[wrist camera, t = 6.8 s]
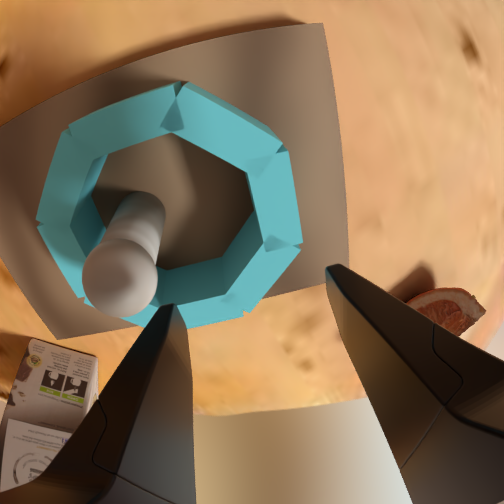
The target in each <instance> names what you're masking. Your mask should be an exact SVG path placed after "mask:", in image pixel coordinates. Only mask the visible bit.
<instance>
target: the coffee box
mask: <svg viewBox="0 0 504 504" xmlns="http://www.w3.org/2000/svg"><path fill="white" fill-rule="evenodd" d="M96 399H98V359H97V358H96V357H94V356H90V355H87V354H83V353H79V352H76V351H72V350H69V349H65V348H62V347H59V346H56V345H52V344H49V343H46V342H43V341H40V340H37V339H34V338H33V339H31V340H30V342H29V344H28V347H27V349H26V352H25V354H24V357H23V359H22V362H21V364H20V367H19V370H18V372H17V375H16V378H15V380H14V383H13V386H12V389H11V392H10V395H9V398H8V401H7V405H6V408H5V411H4V414H3V418H2V421H1V424H0V492H3V491H6V490H9V489H11V488H14V487H17V486H20V485H23V484H25V483H28V482H30V481H32V480H34V479H35V478H36V477H38V476H39V475H40V474H41V473H42V472H43V471H44V470H45V469H46V468H47V466H48V465H49V464H50V463H51V461H52V460H53V459H54V457H55V456H56V455H57V453H58V452H59V451H60V450H61V448H62V447H63V446H64V444H65V443H66V442H67V440H68V439H69V438H70V437H71V435H72V434H73V432H74V431H75V430H76V428H77V427H78V426H79V424H80V423H81V422H82V420H83V419H84V417H85V416H86V414H87V413H88V411H89V410H90V408H91V407H92V405H93V404H94V402H95V401H96Z"/></svg>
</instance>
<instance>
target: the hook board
mask: <svg viewBox="0 0 504 504" xmlns="http://www.w3.org/2000/svg"><path fill="white" fill-rule="evenodd" d="M178 81H180V82H181V85H182V87H183V86H184V85H185V84H186V83H188V82H191V83H192V84H194V85H196V86H198V87H200V88H202V89H204V90H206V91H208V92H209V93H211V94H213V95H215V96H217V97H218V98H220V99H222V100H224V101H226V102H227V103H229V104H231V105H233V106H234V107H236V108H238V109H240V110H241V111H243V112H245V113H246V114H248V115H250V116H251V117H253V118H255V119H256V120H258V121H260V122H261V123H263V124H265V125H266V126H268V127H269V128H270V129H271V130H272V131H273V132H274V134H275V135H276V136H277V137H278V138H279V139H280V140H281V141H282V143H283V145H284V147H285V148H286V149H287V150H288V152H289V158H290V163H291V169H292V175H293V181H294V187H295V193H296V199H297V205H298V212H299V218H300V225H301V231H302V238H303V243H300V244H298V245H299V247H300V249H301V251H300V252H299V253H298V254H297V256H296V257H295V258H294V259H293V261H292V262H291V263H290V264H289V266H288V267H287V268H286V269H285V271H284V272H283V273H282V274H281V276H280V277H279V278H278V279H277V280H276V282H275V283H274V284H273V285H272V287H271V288H270V289H269V290H268V291H267V293H266V294H265V295H264V296H263V297H262V299H264V298H268V297H272V296H276V295H280V294H284V293H288V292H292V291H296V290H300V289H304V288H308V287H312V286H316V285H320V284H323V283H326V278H325V268H326V267H327V266H329V265H333V264H337V263H340V264H342V265H344V266H345V267H347V268H349V245H348V222H347V205H346V190H345V177H344V165H343V155H342V145H341V136H340V127H339V119H338V111H337V104H336V96H335V89H334V83H333V76H332V70H331V64H330V58H329V53H328V47H327V42H326V36H325V31H324V26H323V23H312V24H300V25H291V26H282V27H275V28H268V29H261V30H255V31H249V32H243V33H238V34H233V35H228V36H223V37H218V38H214V39H210V40H205V41H201V42H197V43H193V44H189V45H186V46H182V47H179V48H175V49H172V50H168V51H165V52H162V53H158V54H155V55H152V56H149V57H146V58H143V59H140V60H137V61H135V62H132V63H129V64H126V65H124V66H121V67H118V68H116V69H113V70H111V71H108V72H106V73H103V74H101V75H98V76H96V77H94V78H91V79H89V80H87V81H85V82H82V83H80V84H78V85H76V86H74V87H72V88H69V89H67V90H65V91H63V92H61V93H59V94H57V95H55V96H53V97H51V98H49V99H47V100H46V101H44V102H42V103H40V104H38V105H36V106H35V107H33V108H31V109H29V110H27V111H26V112H24V113H22V114H21V115H19V116H17V117H15V118H14V119H12V120H11V121H9V122H7V123H6V124H4V125H3V126H1V127H0V257H1V259H2V261H3V262H4V264H5V266H6V267H7V269H8V270H9V272H10V274H11V275H12V277H13V278H14V280H15V282H16V283H17V285H18V286H19V288H20V289H21V291H22V292H23V294H24V295H25V297H26V298H27V300H28V301H29V303H30V304H31V305H32V307H33V308H34V310H35V311H36V312H37V314H38V315H39V317H40V318H41V319H42V321H43V322H44V323H45V325H46V326H47V327H48V329H49V330H50V331H51V333H52V334H53V335H54V336H55V338H56V339H57V340H60V339H66V338H72V337H78V336H84V335H90V334H96V333H101V332H107V331H112V330H118V329H123V328H129V327H134V326H139V325H136V324H134V323H131V322H129V321H126V320H123V319H121V318H123V317H129V316H132V315H135V314H137V313H139V312H141V311H142V310H143V309H144V308H146V306H147V305H148V304H149V303H150V302H151V300H152V298H153V296H154V294H155V292H156V288H157V282H158V275H157V269H156V266H158V267H160V268H162V269H164V270H171V269H175V268H179V267H183V266H187V265H191V264H195V263H199V262H203V261H207V260H211V259H215V258H219V257H222V256H223V254H224V253H225V252H226V250H227V249H228V247H229V246H230V244H231V243H232V241H233V240H234V238H235V237H236V236H237V234H238V233H239V231H240V230H241V228H242V227H243V225H244V224H245V222H246V221H247V220H248V218H249V217H250V215H251V214H252V212H253V211H254V208H253V204H252V200H251V196H250V191H249V187H248V183H247V179H246V175H245V171H243V170H241V169H240V168H238V167H236V166H234V165H232V164H231V163H229V162H227V161H225V160H223V159H221V158H219V157H218V156H216V155H214V154H212V153H210V152H208V151H206V150H205V149H203V148H201V147H199V146H197V145H195V144H193V143H191V142H189V141H187V140H185V139H184V138H182V137H180V136H178V135H176V134H174V133H172V132H171V133H168V134H165V135H162V136H158V137H155V138H152V139H149V140H146V141H143V142H140V143H137V144H134V145H131V146H129V147H126V148H123V149H120V150H117V151H115V152H112V153H109V154H108V156H107V158H106V160H105V163H104V165H103V167H102V170H101V172H100V174H99V177H98V179H97V182H96V184H95V187H94V190H93V192H92V195H91V197H92V199H93V202H94V204H95V206H96V208H97V211H98V213H99V215H100V217H101V219H102V222H103V224H104V226H105V228H106V232H105V234H104V236H103V238H102V240H101V242H100V244H99V245H98V246H96V247H95V248H94V249H93V250H92V251H91V252H90V254H89V255H88V257H87V258H86V260H85V263H84V265H83V269H82V285H83V289H84V292H85V295H86V296H85V297H87V298H88V300H89V301H90V303H91V304H92V305H93V306H94V307H95V308H94V307H92V306H90V305H87V304H85V303H84V300H85V297H81V298H78V297H77V296H76V294H75V293H74V291H73V290H72V288H71V286H70V285H69V283H68V282H67V280H66V278H65V277H64V275H63V273H62V272H61V270H60V268H59V267H58V265H57V263H56V261H55V260H54V258H53V256H52V254H51V253H50V251H49V249H48V247H47V246H46V244H45V242H44V240H43V238H42V236H41V234H40V232H39V231H38V229H37V226H38V225H39V224H40V223H41V222H39V221H37V220H36V216H37V212H38V208H39V204H40V200H41V196H42V192H43V189H44V185H45V182H46V178H47V175H48V172H49V168H50V165H51V162H52V159H53V156H54V153H55V150H56V147H57V144H58V141H59V139H60V136H61V133H62V132H63V131H64V130H66V129H68V128H69V126H68V125H69V124H71V123H73V122H75V121H77V120H78V119H80V118H82V117H84V116H86V115H88V114H90V113H92V112H94V111H97V110H99V109H101V108H104V107H106V106H109V105H111V104H114V103H116V102H119V101H122V100H124V99H127V98H130V97H132V96H135V95H138V94H141V93H144V92H147V91H150V90H153V89H156V88H159V87H162V86H165V85H168V84H171V83H175V82H178Z"/></svg>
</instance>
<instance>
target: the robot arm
mask: <svg viewBox="0 0 504 504" xmlns="http://www.w3.org/2000/svg"><path fill="white" fill-rule="evenodd" d="M325 278H326V290H327V295H328V299H329V302H330V305H331V308H332V310H333V313H334V316H335V319H336V323H337V326H338V329H339V332H340V335H341V338H342V340H343V343H344V345H345V348H346V350H347V352H348V354H349V357H350V359H351V361H352V363H353V365H354V367H355V369H356V372H357V374H358V376H359V378H360V380H361V383H362V385H363V387H364V389H365V391H366V394H367V396H368V398H369V400H370V402H371V405H372V407H373V409H374V411H375V414H376V416H377V418H378V421H379V423H380V425H381V427H382V430H383V432H384V435H385V437H386V439H387V441H388V444H389V446H390V449H391V451H392V453H393V455H394V458H395V460H396V463H397V465H398V468H399V469H400V473H401V475H402V478H403V480H404V483H405V485H406V488H407V490H408V493H409V495H410V498H411V500H412V503H413V504H504V361H503V360H501V359H499V358H497V357H495V356H493V355H491V354H489V353H487V352H485V351H484V350H482V349H480V348H478V347H476V346H474V345H472V344H470V343H469V342H467V341H465V340H463V339H461V338H460V337H458V336H456V335H455V334H453V333H452V332H450V331H448V330H447V329H445V328H444V327H442V326H440V325H439V324H437V323H434V322H433V321H432V320H431V319H429V318H428V317H426V316H425V315H423V314H421V313H420V312H418V311H417V310H415V309H414V308H412V307H410V306H409V305H407V304H406V303H404V302H402V301H401V300H399V299H398V298H396V297H394V296H393V295H391V294H390V293H388V292H386V291H385V290H383V289H382V288H380V287H378V286H377V285H375V284H373V283H372V282H370V281H369V280H367V279H365V278H364V277H362V276H360V275H359V274H357V273H355V272H354V271H352V270H350V269H349V268H347V267H345V266H344V265H342V264H340V263H337V264H333V265H329V266H327V267H326V268H325ZM0 504H196V489H195V470H194V442H193V381H192V369H191V361H190V352H189V343H188V334H187V327H186V324H185V322H184V320H183V318H182V316H181V313H180V311H179V309H178V307H177V306H176V304H174V303H170V304H165V305H161V306H160V307H159V308H158V310H157V311H156V312H155V314H154V315H153V317H152V318H151V319H150V321H149V322H148V324H147V325H146V327H145V328H144V330H143V331H142V332H141V334H140V335H139V337H138V338H137V340H136V341H135V343H134V344H133V345H132V347H131V348H130V350H129V351H128V353H127V354H126V356H125V357H124V359H123V360H122V362H121V363H120V365H119V366H118V367H117V369H116V370H115V372H114V373H113V375H112V376H111V378H110V379H109V381H108V382H107V384H106V385H105V387H104V389H103V390H102V392H101V393H100V395H99V396H98V399H96V401H95V402H94V404H93V405H92V407H91V408H90V410H89V411H88V413H87V414H86V416H85V417H84V419H83V420H82V422H81V423H80V424H79V426H78V427H77V428H76V430H75V431H74V432H73V434H72V435H71V437H70V438H69V439H68V440H67V442H66V443H65V444H64V446H63V447H62V448H61V450H60V451H59V452H58V453H57V455H56V456H55V457H54V459H53V460H52V461H51V463H50V464H49V465H48V466H47V468H46V469H45V470H44V471H43V472H42V473H41V474H40V475H39V476H38V477H36V478H35V479H34V480H32V481H30V482H28V483H25V484H23V485H20V486H17V487H14V488H11V489H9V490H6V491H3V492H0Z"/></svg>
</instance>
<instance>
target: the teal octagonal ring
mask: <svg viewBox="0 0 504 504" xmlns="http://www.w3.org/2000/svg"><path fill="white" fill-rule="evenodd" d="M68 126H69V128H68V129H66V130H64V131H63V132H62V133H61V136H60V139H59V141H58V144H57V147H56V150H55V153H54V156H53V159H52V162H51V165H50V168H49V172H48V175H47V178H46V182H45V185H44V189H43V192H42V196H41V200H40V204H39V208H38V212H37V216H36V220H37V221H39V222H41V223H40V224H39V225H38V226H37V229H38V231H39V232H40V234H41V236H42V238H43V240H44V242H45V244H46V246H47V247H48V249H49V251H50V253H51V254H52V256H53V258H54V260H55V261H56V263H57V265H58V267H59V268H60V270H61V272H62V273H63V275H64V277H65V278H66V280H67V282H68V283H69V285H70V286H71V288H72V290H73V291H74V293H75V294H76V296H77V297H78V298H81V297H85V296H86V295H85V292H84V289H83V285H82V269H83V265H84V263H85V260H86V258H87V257H88V255H89V254H90V252H91V251H92V250H93V249H94V248H95V247H96V246H98V245H99V244H100V242H101V240H102V238H103V236H104V234H105V232H106V228H105V226H104V224H103V222H102V219H101V217H100V215H99V213H98V211H97V208H96V206H95V204H94V202H93V199H92V197H91V195H92V192H93V190H94V187H95V184H96V182H97V179H98V177H99V174H100V172H101V170H102V167H103V165H104V163H105V160H106V158H107V156H108V154H109V153H112V152H115V151H117V150H120V149H123V148H126V147H129V146H131V145H134V144H137V143H140V142H143V141H146V140H149V139H152V138H155V137H158V136H162V135H165V134H168V133H171V132H172V133H174V134H176V135H178V136H180V137H182V138H184V139H185V140H187V141H189V142H191V143H193V144H195V145H197V146H199V147H201V148H203V149H205V150H206V151H208V152H210V153H212V154H214V155H216V156H218V157H219V158H221V159H223V160H225V161H227V162H229V163H231V164H232V165H234V166H236V167H238V168H240V169H241V170H243V171H245V175H246V179H247V183H248V187H249V191H250V196H251V200H252V204H253V208H254V211H253V212H252V214H251V215H250V217H249V218H248V220H247V221H246V222H245V224H244V225H243V227H242V228H241V230H240V231H239V233H238V234H237V236H236V237H235V238H234V240H233V241H232V243H231V244H230V246H229V247H228V249H227V250H226V252H225V253H224V254H223V256H222V257H219V258H215V259H211V260H207V261H203V262H199V263H195V264H191V265H187V266H183V267H179V268H175V269H171V270H164V269H162V268H160V267H158V266H156V269H157V275H158V282H157V288H156V292H155V294H154V296H153V298H152V300H151V302H150V303H149V304H148V305H147V306H146V308H144V309H143V310H142V311H141V312H139V313H137V314H135V315H132V316H129V317H123V318H121V319H123V320H126V321H129V322H131V323H134V324H136V325H139V326H141V327H144V328H145V327H146V325H147V324H148V322H149V321H150V319H151V318H152V317H153V315H154V314H155V312H156V311H157V310H158V308H159V307H160V306H161V305H165V304H170V303H174V304H176V306H177V307H178V309H179V311H180V313H181V316H182V318H183V320H184V322H185V324H186V327H187V329H189V328H194V327H199V326H203V325H208V324H213V323H217V322H222V321H226V320H230V319H235V318H239V317H243V311H246V312H249V313H250V312H251V311H252V310H253V308H254V307H255V306H256V305H257V304H258V302H259V301H260V300H261V299H262V297H263V296H264V295H265V294H266V293H267V291H268V290H269V289H270V288H271V287H272V285H273V284H274V283H275V282H276V280H277V279H278V278H279V277H280V276H281V274H282V273H283V272H284V271H285V269H286V268H287V267H288V266H289V264H290V263H291V262H292V261H293V259H294V258H295V257H296V256H297V254H298V253H299V252H300V251H301V249H300V247H299V245H298V244H300V243H303V238H302V231H301V225H300V218H299V212H298V205H297V199H296V193H295V187H294V181H293V175H292V169H291V163H290V158H289V152H288V150H287V149H286V148H285V147H284V145H283V143H282V141H281V140H280V139H279V138H278V137H277V136H276V135H275V134H274V132H273V131H272V130H271V129H270V128H269V127H268V126H266V125H265V124H263V123H261V122H260V121H258V120H256V119H255V118H253V117H251V116H250V115H248V114H246V113H245V112H243V111H241V110H240V109H238V108H236V107H234V106H233V105H231V104H229V103H227V102H226V101H224V100H222V99H220V98H218V97H217V96H215V95H213V94H211V93H209V92H208V91H206V90H204V89H202V88H200V87H198V86H196V85H194V84H192V83H191V82H188V83H186V84H185V85H184V86H183V87H182V85H181V82H180V81H178V82H175V83H171V84H168V85H165V86H162V87H159V88H156V89H153V90H150V91H147V92H144V93H141V94H138V95H135V96H132V97H130V98H127V99H124V100H122V101H119V102H116V103H114V104H111V105H109V106H106V107H104V108H101V109H99V110H97V111H94V112H92V113H90V114H88V115H86V116H84V117H82V118H80V119H78V120H77V121H75V122H73V123H71V124H69V125H68ZM84 303H85V304H87V305H90V306H92V307H94V306H93V305H92V304H91V303H90V301H89V300H88V298H87V297H85V300H84ZM94 308H95V307H94Z"/></svg>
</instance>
